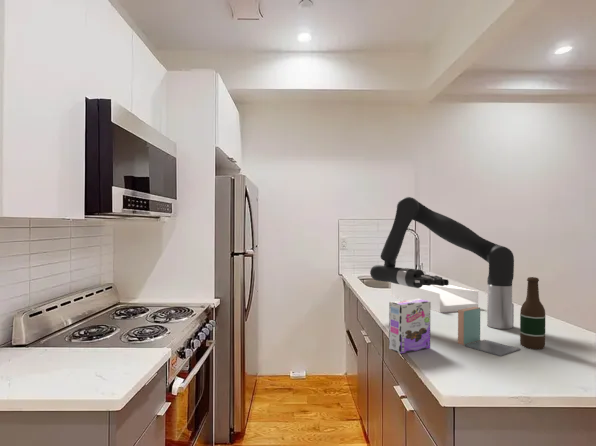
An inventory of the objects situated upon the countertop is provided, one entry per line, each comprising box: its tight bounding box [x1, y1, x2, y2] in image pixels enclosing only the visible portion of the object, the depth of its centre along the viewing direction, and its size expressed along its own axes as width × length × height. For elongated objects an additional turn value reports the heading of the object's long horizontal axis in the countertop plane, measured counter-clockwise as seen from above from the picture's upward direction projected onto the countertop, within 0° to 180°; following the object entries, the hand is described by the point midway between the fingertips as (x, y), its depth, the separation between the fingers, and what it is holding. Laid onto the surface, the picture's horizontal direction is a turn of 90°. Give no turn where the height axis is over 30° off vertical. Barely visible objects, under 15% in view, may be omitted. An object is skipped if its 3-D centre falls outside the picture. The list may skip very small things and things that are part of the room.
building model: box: [390, 282, 479, 314], centre depth 224 cm, size 45×22×10 cm, turn 18°
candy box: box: [388, 299, 431, 355], centre depth 144 cm, size 14×6×16 cm, turn 117°
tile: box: [457, 306, 481, 346], centre depth 152 cm, size 10×2×12 cm, turn 124°
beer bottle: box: [519, 276, 546, 350], centre depth 147 cm, size 8×8×24 cm
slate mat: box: [464, 339, 521, 357], centre depth 145 cm, size 12×13×1 cm
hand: (445, 282), depth 160 cm, fingers closed
